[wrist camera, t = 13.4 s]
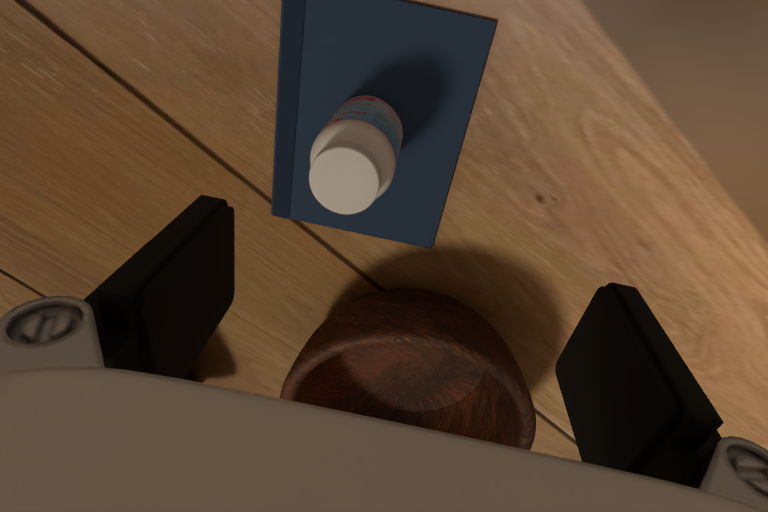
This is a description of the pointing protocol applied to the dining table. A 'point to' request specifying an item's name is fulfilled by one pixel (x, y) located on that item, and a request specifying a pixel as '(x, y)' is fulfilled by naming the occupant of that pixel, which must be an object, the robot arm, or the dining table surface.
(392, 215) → the book
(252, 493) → the robot arm
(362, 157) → the pill bottle
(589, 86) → the dining table surface
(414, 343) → the wooden bowl
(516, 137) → the dining table surface
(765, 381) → the dining table surface
